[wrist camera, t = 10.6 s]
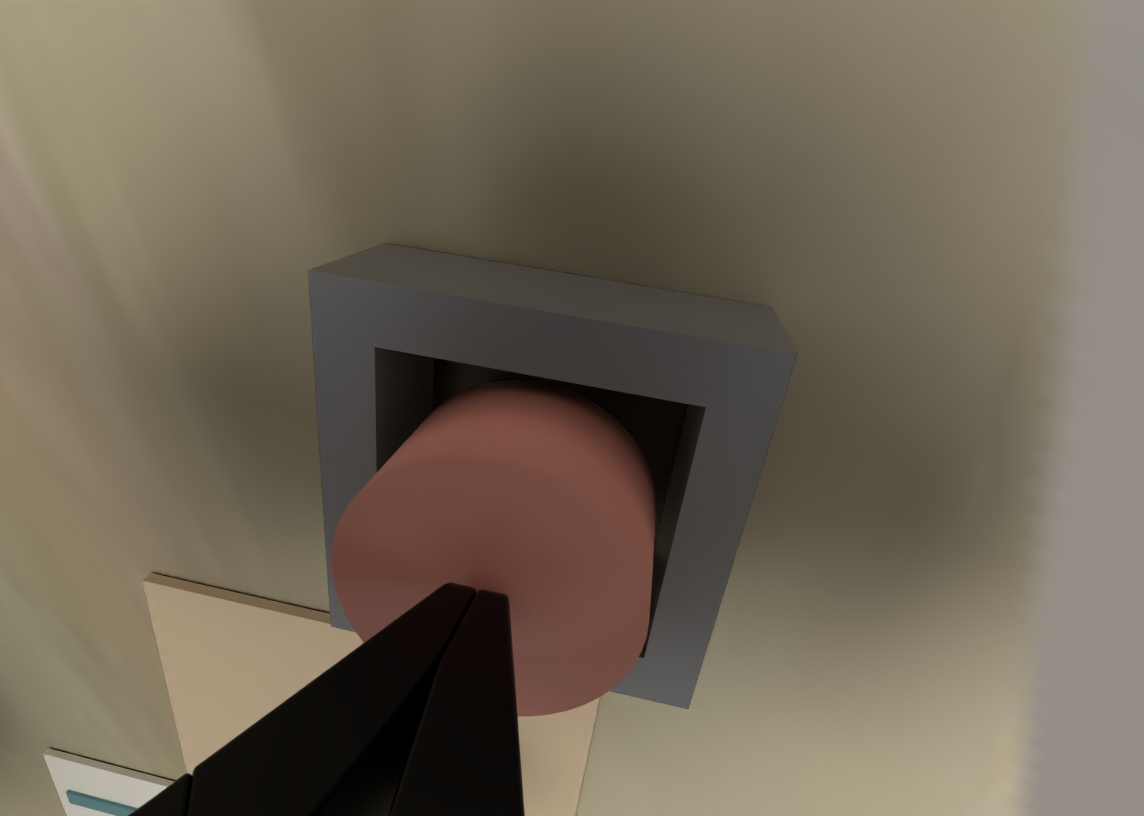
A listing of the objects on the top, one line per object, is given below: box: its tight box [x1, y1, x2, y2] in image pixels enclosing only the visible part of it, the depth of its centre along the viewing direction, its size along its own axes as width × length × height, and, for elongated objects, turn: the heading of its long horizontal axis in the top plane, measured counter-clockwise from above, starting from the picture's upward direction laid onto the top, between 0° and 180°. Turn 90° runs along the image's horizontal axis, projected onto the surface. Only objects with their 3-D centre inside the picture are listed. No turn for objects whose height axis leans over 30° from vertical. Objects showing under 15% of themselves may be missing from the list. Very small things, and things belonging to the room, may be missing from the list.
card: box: [43, 748, 174, 816], centre depth 20 cm, size 5×4×1 cm
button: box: [331, 380, 656, 717], centre depth 9 cm, size 4×4×2 cm
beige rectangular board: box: [142, 573, 600, 816], centre depth 17 cm, size 12×10×1 cm
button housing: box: [308, 243, 797, 709], centre depth 11 cm, size 7×7×2 cm
